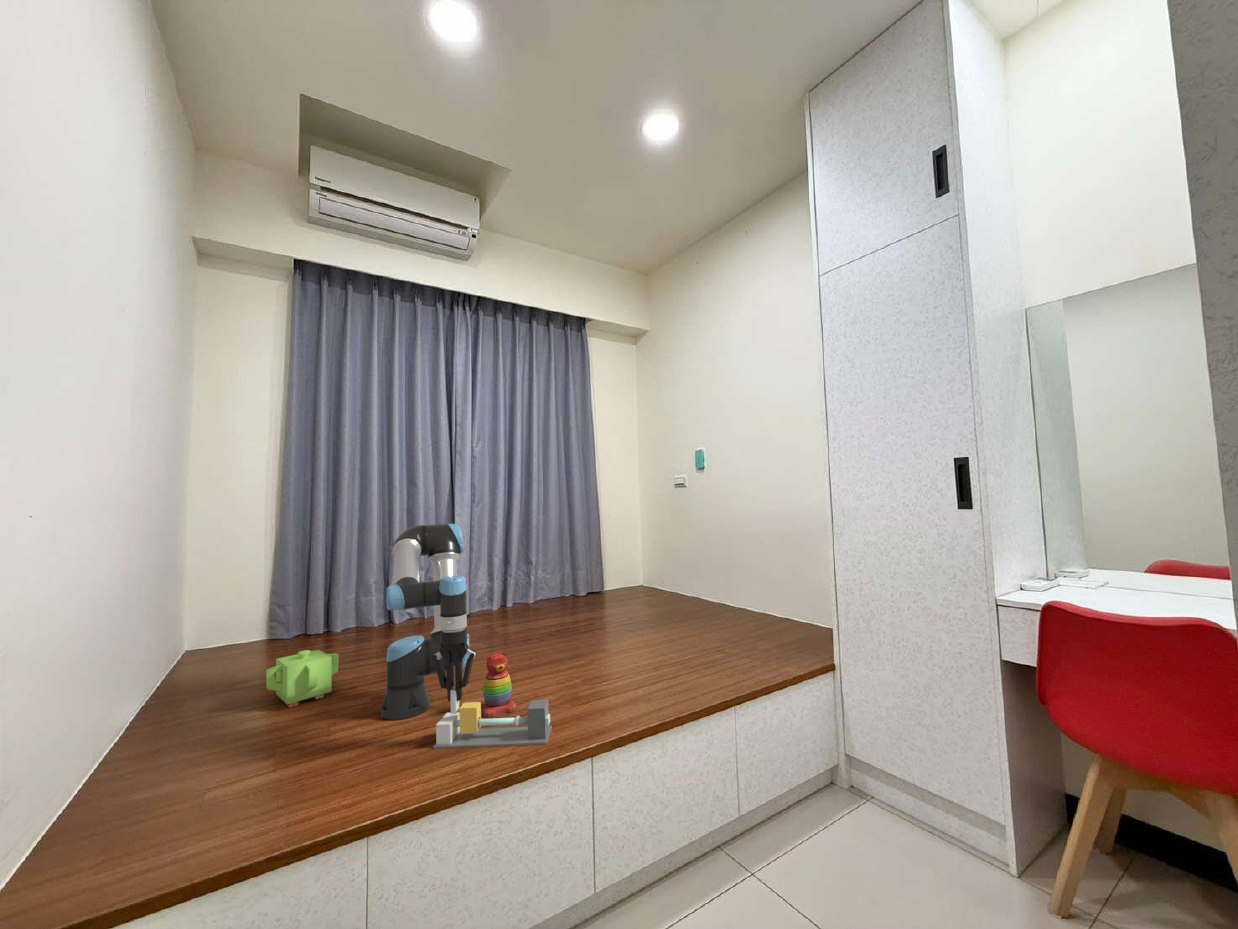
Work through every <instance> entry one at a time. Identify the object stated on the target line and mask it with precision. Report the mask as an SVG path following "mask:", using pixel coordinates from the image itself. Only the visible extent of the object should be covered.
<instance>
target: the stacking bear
mask: <svg viewBox="0 0 1238 929" xmlns="http://www.w3.org/2000/svg"><path fill="white" fill-rule="evenodd" d="M507 668H508V660H507V657H506V653H505V652H501V653H495V654H493V655H488V656H487V657H486V669H487V671H488V672H487V673H486V675H485V677H484V679H483V684H482V685H483V687H482V695H483V699H484V703H485V704H484V705H483V707H482V715H483V717H485V718H494V717H496V716H497V715H499V714H507V713H513V712H515V711H516V710H517V704H516V703H515V702H514V701H513V700H511V697H512V689H513V688H512V686H513V684H512V680H511V677H510V674H509V671H508V670H507Z"/></svg>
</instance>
